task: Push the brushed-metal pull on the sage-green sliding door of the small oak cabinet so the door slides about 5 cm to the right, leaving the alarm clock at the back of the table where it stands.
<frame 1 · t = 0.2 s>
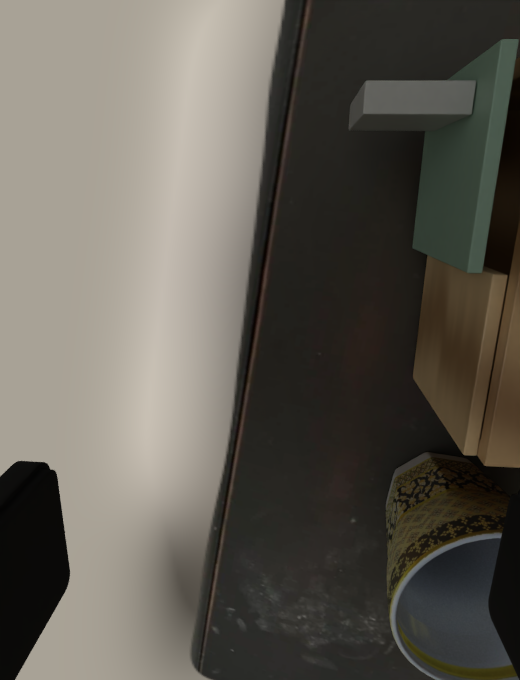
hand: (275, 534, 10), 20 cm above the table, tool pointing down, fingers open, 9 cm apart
sliding door: (404, 169, 21), point 5 cm above the table, slide at 0.0 cm
cabinet: (513, 248, 27), on the table
ceramic cup: (444, 506, 33), on the table
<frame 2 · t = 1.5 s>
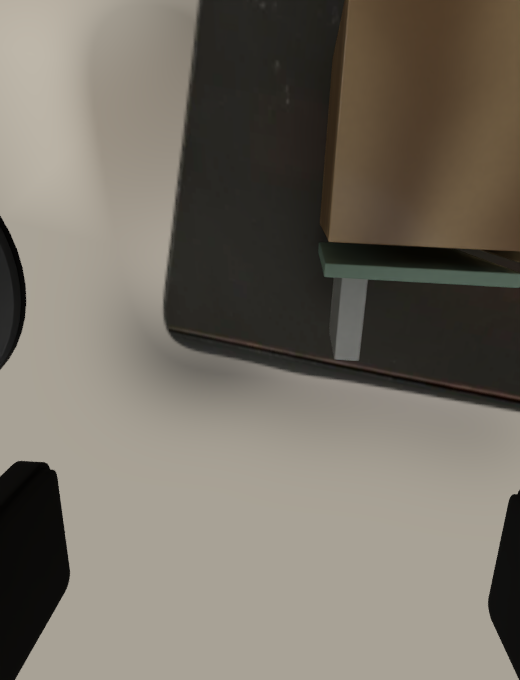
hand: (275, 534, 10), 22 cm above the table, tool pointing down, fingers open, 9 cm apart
sliding door: (395, 302, 24), point 5 cm above the table, slide at 0.0 cm
cabinet: (467, 150, 27), on the table
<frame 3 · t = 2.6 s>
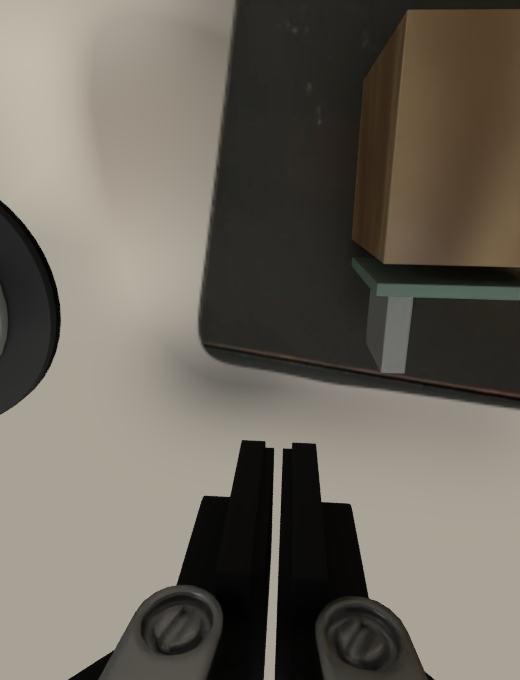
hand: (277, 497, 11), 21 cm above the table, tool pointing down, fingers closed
sliding door: (434, 314, 25), point 5 cm above the table, slide at 0.0 cm
cabinet: (493, 165, 28), on the table
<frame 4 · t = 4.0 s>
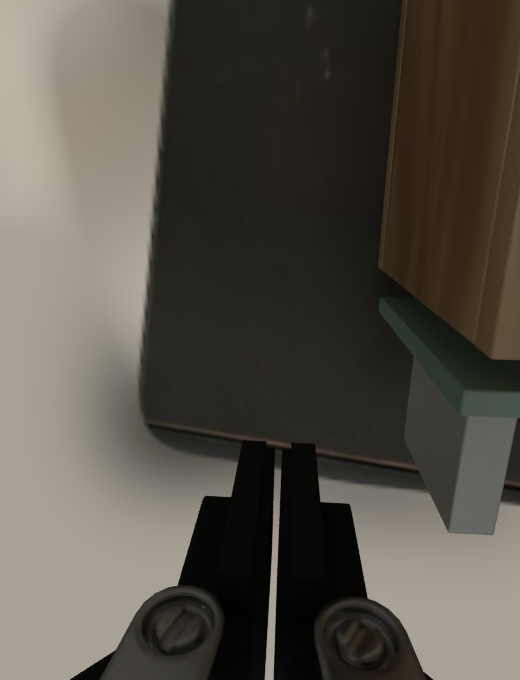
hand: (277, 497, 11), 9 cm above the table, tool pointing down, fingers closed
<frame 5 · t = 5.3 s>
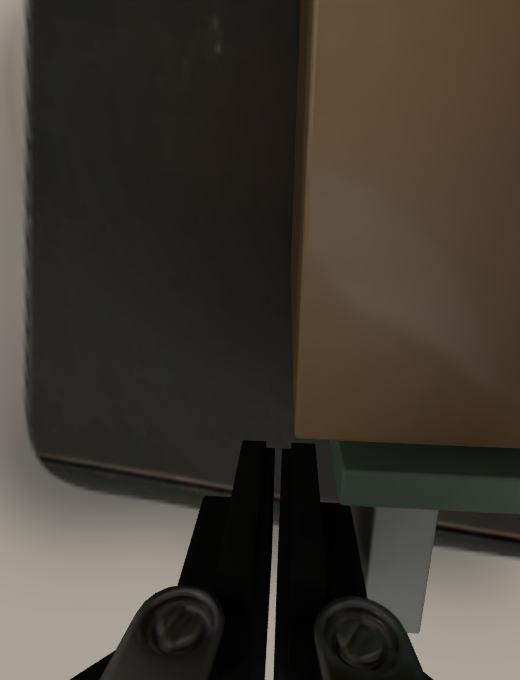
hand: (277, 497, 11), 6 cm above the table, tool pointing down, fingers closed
sliding door: (482, 462, 11), point 5 cm above the table, slide at 0.7 cm, touching gripper
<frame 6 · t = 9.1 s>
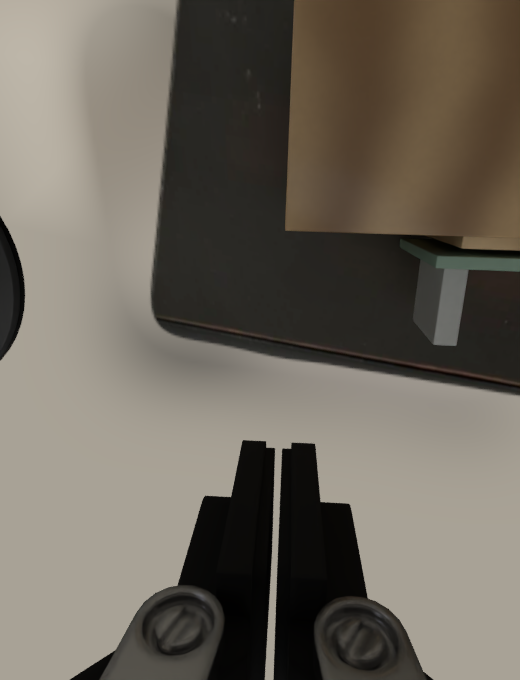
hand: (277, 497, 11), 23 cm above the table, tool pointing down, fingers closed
sliding door: (483, 291, 26), point 5 cm above the table, slide at 7.0 cm
cabinet: (423, 148, 29), on the table
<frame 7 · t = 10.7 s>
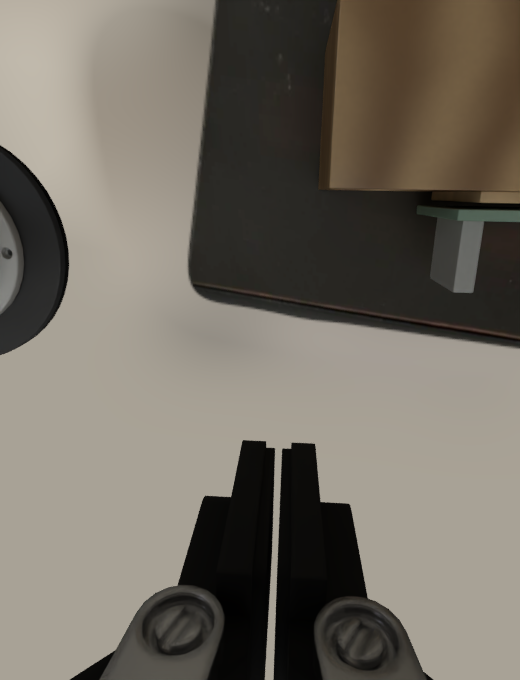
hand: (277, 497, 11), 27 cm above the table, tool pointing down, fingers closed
sliding door: (494, 247, 30), point 5 cm above the table, slide at 7.0 cm
cabinet: (436, 123, 32), on the table
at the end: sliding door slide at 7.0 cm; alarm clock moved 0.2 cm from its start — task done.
